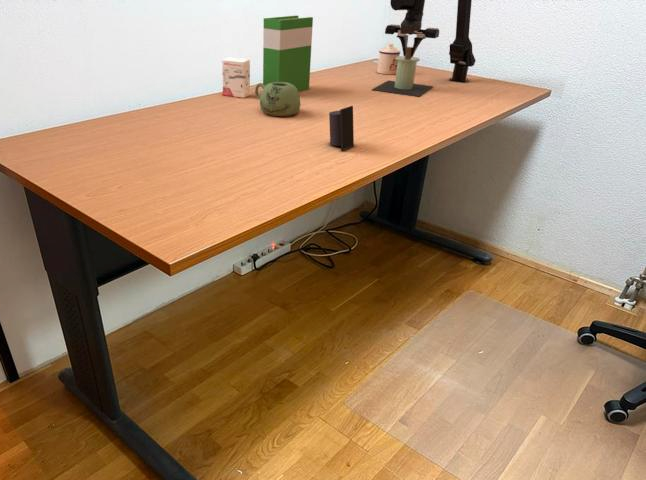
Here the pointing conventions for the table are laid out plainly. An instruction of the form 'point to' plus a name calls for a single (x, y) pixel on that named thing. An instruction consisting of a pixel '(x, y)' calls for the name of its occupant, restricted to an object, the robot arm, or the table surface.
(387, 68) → the teacup with lid
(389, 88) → the mat
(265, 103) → the mug
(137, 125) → the table surface
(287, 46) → the hardback book
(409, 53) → the lid
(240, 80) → the ink box
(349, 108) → the speaker
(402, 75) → the canister
